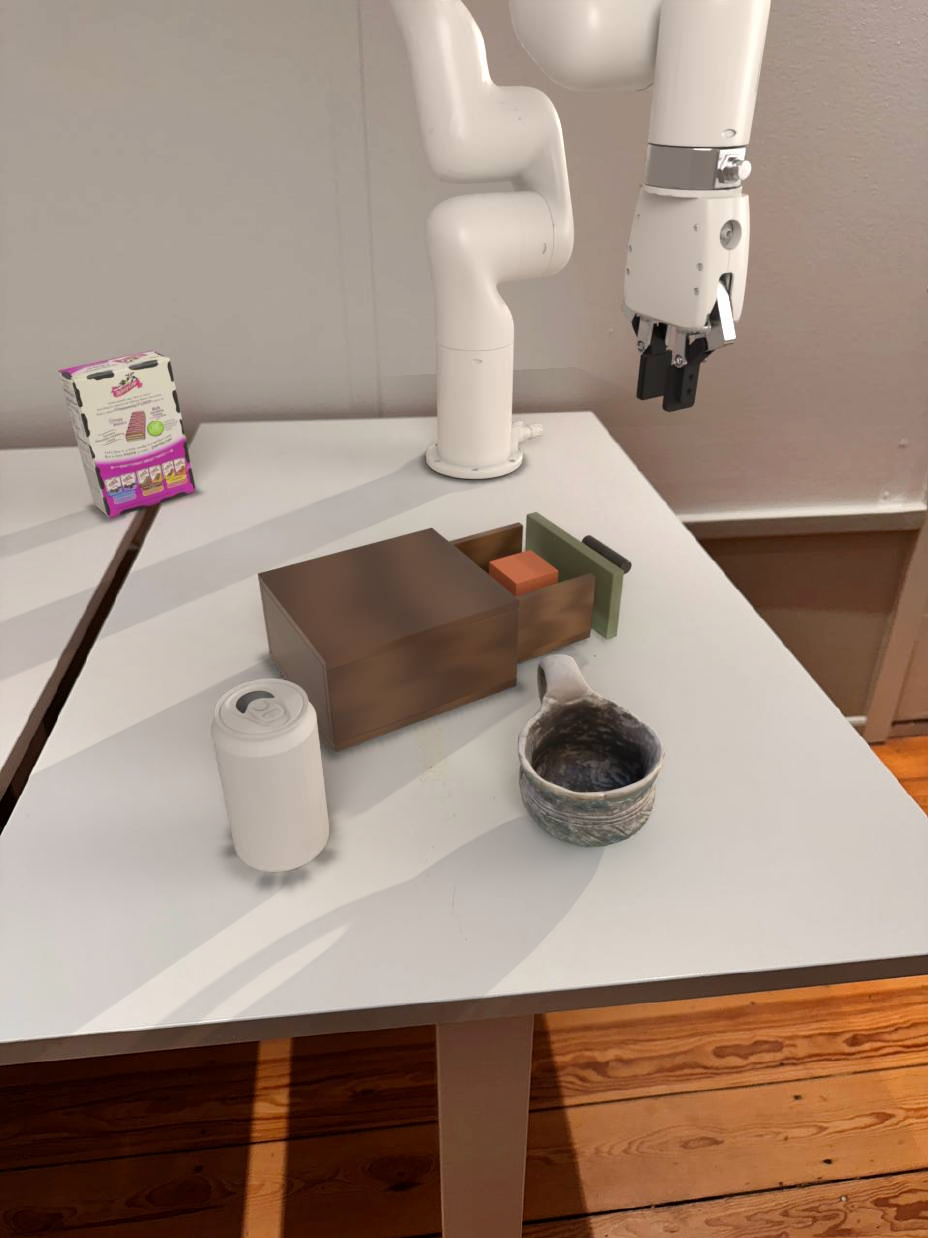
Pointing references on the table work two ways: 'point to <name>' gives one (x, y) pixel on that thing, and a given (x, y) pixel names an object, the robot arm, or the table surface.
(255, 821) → the beverage can
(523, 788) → the mug
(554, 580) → the block
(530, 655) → the drawer
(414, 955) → the table surface
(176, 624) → the table surface
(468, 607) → the cabinet
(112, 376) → the candy bar box
